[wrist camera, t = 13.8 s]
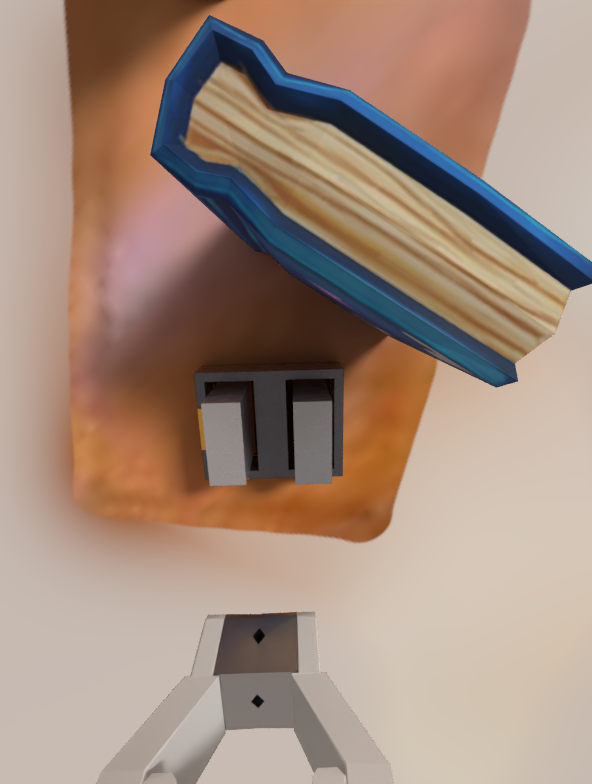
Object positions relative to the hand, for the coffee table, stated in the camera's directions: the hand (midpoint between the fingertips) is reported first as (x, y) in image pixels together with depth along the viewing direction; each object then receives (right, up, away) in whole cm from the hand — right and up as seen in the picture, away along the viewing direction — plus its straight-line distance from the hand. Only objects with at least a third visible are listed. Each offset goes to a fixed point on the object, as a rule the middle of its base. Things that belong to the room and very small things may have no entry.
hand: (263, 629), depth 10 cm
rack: (-2, +4, +34) cm, 35 cm away
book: (+4, +21, +30) cm, 37 cm away
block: (-6, +4, +34) cm, 35 cm away
